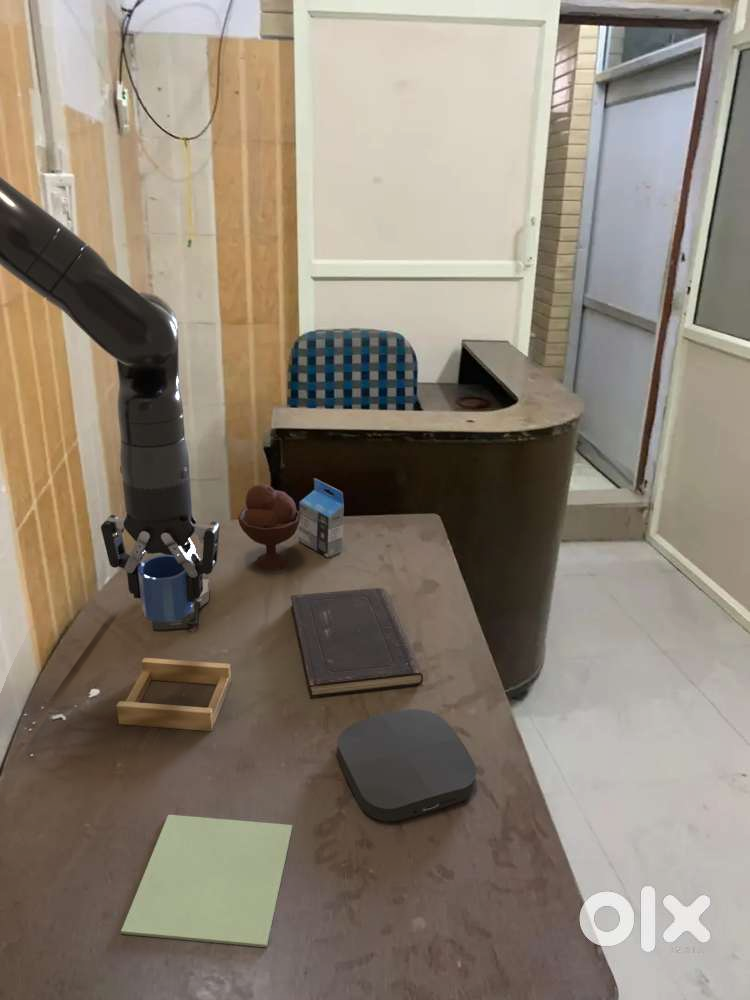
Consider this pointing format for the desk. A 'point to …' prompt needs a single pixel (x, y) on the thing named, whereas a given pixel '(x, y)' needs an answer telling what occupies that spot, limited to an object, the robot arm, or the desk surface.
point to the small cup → (163, 589)
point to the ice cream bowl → (269, 522)
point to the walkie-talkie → (192, 617)
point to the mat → (211, 881)
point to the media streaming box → (405, 764)
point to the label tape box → (322, 520)
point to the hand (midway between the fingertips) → (166, 596)
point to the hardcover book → (352, 643)
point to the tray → (173, 714)
